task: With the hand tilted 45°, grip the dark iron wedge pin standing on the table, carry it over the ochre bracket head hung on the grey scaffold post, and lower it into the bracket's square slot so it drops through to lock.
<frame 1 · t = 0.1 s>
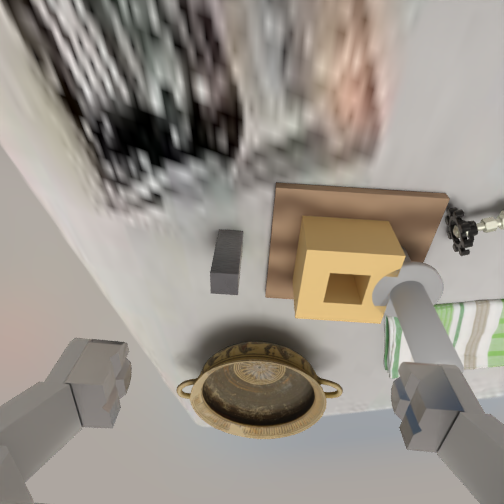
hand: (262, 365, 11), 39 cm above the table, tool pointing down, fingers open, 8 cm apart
dish towel: (448, 332, 67), on the table
base board: (336, 246, 56), on the table
valve: (490, 208, 51), on the table
ceramic bowl: (259, 357, 73), on the table
wedge pin: (230, 240, 56), on the table
bracket post: (337, 252, 55), resting on base board
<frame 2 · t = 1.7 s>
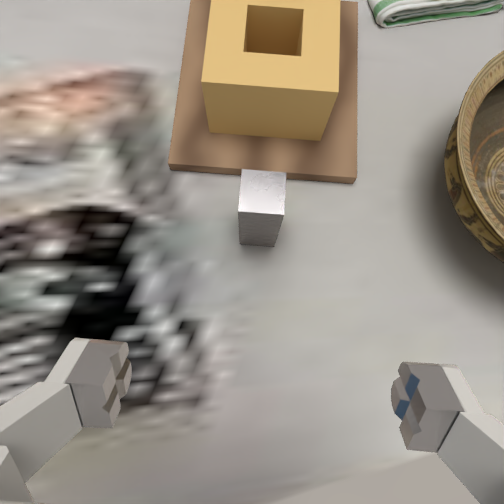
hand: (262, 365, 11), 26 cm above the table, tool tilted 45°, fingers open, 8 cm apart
base board: (267, 97, 43), on the table
wedge pin: (258, 229, 39), on the table
bracket post: (268, 88, 41), resting on base board
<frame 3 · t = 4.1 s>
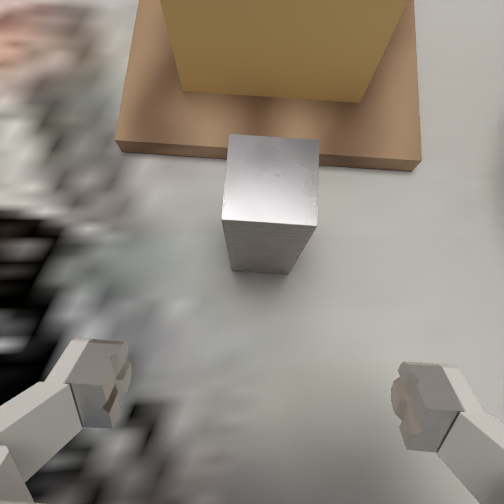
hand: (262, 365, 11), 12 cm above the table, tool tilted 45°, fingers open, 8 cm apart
base board: (274, 41, 28), on the table
wedge pin: (261, 245, 24), on the table
bracket post: (275, 24, 26), resting on base board
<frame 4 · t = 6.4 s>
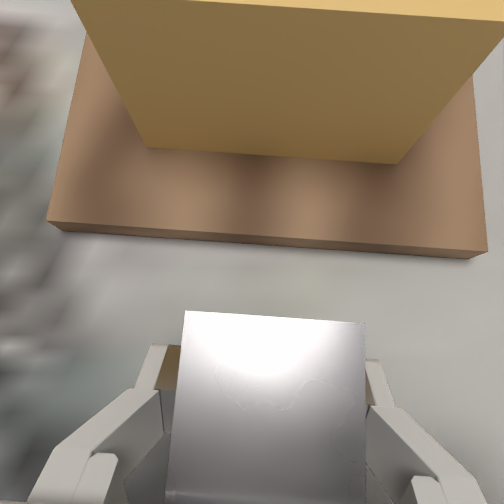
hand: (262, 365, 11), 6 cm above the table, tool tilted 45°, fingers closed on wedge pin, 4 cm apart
base board: (275, 71, 20), on the table
wedge pin: (256, 372, 17), on the table, touching gripper
bracket post: (277, 50, 19), resting on base board
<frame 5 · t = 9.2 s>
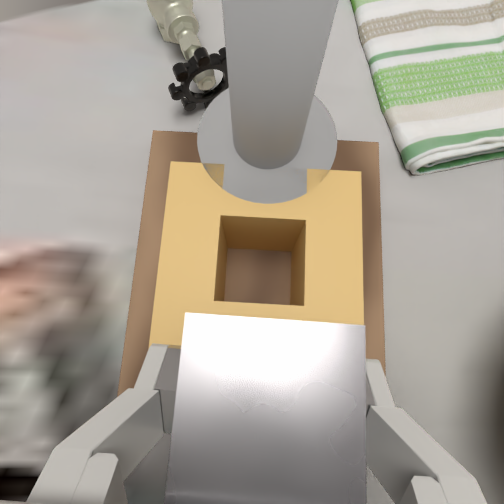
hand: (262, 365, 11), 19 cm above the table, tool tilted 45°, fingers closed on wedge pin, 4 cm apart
dish towel: (448, 63, 37), on the table
base board: (257, 284, 31), on the table
valve: (190, 61, 37), on the table
wedge pin: (256, 373, 17), point 13 cm above the table, touching gripper
bracket post: (258, 281, 29), resting on base board
when the fingers open (12 cm above the table, at t = 11.7 s): wedge pin drops 4 cm, resting on base board.
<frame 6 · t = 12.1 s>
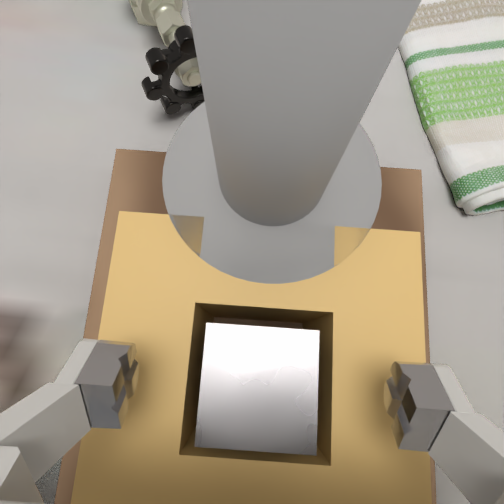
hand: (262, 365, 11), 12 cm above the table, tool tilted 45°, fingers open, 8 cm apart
base board: (254, 364, 22), on the table
valve: (173, 50, 28), on the table
wedge pin: (253, 366, 21), point 1 cm above the table, touching base board
bracket post: (255, 366, 21), resting on base board
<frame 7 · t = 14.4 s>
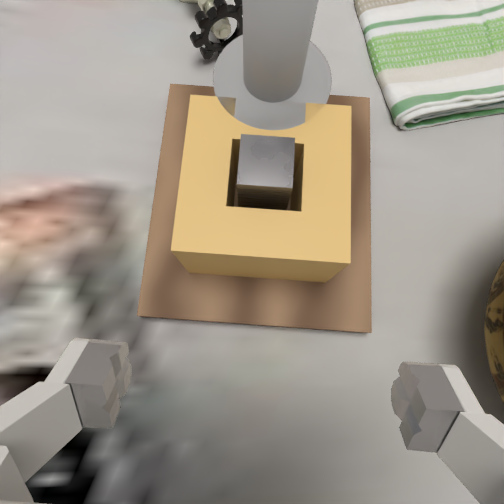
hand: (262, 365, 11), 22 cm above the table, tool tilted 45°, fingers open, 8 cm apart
dish towel: (434, 35, 41), on the table
base board: (260, 218, 35), on the table
valve: (204, 18, 41), on the table
wedge pin: (260, 213, 34), point 1 cm above the table, touching base board
bracket post: (261, 213, 34), resting on base board
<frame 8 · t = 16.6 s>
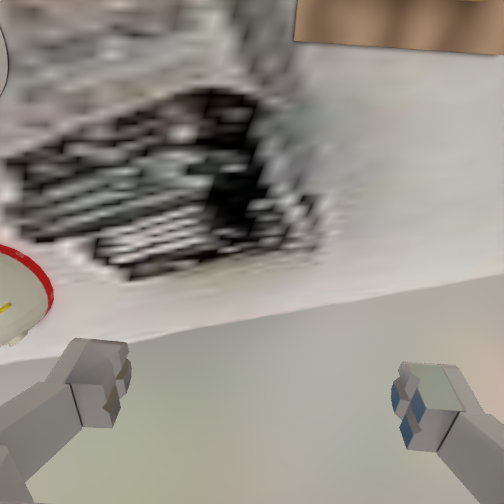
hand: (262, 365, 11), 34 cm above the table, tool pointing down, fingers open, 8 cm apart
kitchen timer: (6, 283, 53), on the table
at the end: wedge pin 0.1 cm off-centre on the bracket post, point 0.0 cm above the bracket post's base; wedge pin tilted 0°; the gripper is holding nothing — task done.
